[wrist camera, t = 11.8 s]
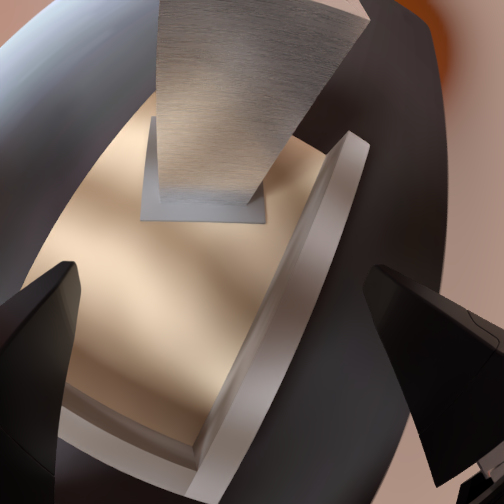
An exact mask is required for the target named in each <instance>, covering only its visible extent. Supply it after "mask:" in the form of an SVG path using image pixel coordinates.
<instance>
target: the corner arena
mask: <svg viewBox="0 0 504 504" xmlns="http://www.w3.org/2000/svg"><path fill="white" fill-rule="evenodd" d="M369 147H370V144H368V143H367V142H365V141H364V140H362V139H361V138H360V137H358V136H357V135H355V134H353V133H352V132H350V131H348V132H347V133H346V134H345V135H344V136H343V137H342V138H341V140H340V141H339V142H338V143H337V144H336V145H335V146H334V147H333V148H332V149H331V150H330V151H329V153H328V154H327V155H325V154H323V153H322V152H320V151H318V150H317V149H315V148H313V147H312V146H310V145H308V144H306V143H305V142H303V141H301V140H300V139H298V138H296V137H294V136H293V135H292V136H291V137H290V139H289V140H288V142H287V143H286V145H285V146H284V148H283V149H282V151H281V152H280V154H279V155H278V157H277V159H276V160H275V162H274V163H273V165H272V166H271V168H270V169H269V171H268V172H267V174H266V176H265V177H264V179H263V180H262V182H261V183H260V185H259V186H258V188H257V190H256V191H255V193H254V194H253V196H252V197H251V199H250V201H249V202H248V204H247V205H246V206H245V205H221V204H190V203H160V192H159V176H158V157H157V129H156V91H155V92H154V93H153V94H152V95H151V96H150V97H149V99H148V100H147V101H146V102H145V103H144V104H143V105H142V106H141V107H140V109H139V110H138V111H137V112H136V113H135V114H134V115H133V117H132V118H131V119H130V120H129V121H128V123H127V124H126V125H125V126H124V127H123V129H122V130H121V131H120V132H119V133H118V135H117V136H116V137H115V138H114V140H113V141H112V142H111V143H110V145H109V146H108V147H107V149H106V150H105V151H104V153H103V154H102V155H101V157H100V158H99V159H98V161H97V162H96V163H95V165H94V166H93V167H92V169H91V170H90V172H89V173H88V174H87V176H86V177H85V179H84V180H83V182H82V183H81V184H80V186H79V187H78V189H77V190H76V192H75V193H74V195H73V196H72V198H71V200H70V201H69V203H68V204H67V206H66V207H65V209H64V211H63V212H62V214H61V215H60V217H59V219H58V220H57V222H56V224H55V225H54V227H53V229H52V230H51V232H50V234H49V236H48V237H47V239H46V241H45V243H44V245H43V246H42V248H41V250H40V252H39V254H38V256H37V258H36V260H35V261H34V263H33V265H32V267H31V269H30V271H29V273H28V275H27V277H26V280H25V282H24V284H23V286H22V288H21V290H22V289H23V288H25V287H26V286H27V285H29V284H30V283H31V282H33V281H34V280H36V279H37V278H38V277H40V276H41V275H43V274H44V273H45V272H47V271H48V270H50V269H51V268H53V267H54V266H55V265H57V264H58V263H60V262H61V261H74V262H75V263H76V264H77V268H78V273H79V278H80V283H81V297H80V303H79V310H78V317H77V324H76V332H75V339H74V344H73V348H72V353H71V357H70V362H69V367H68V372H67V377H66V383H65V388H64V394H63V400H62V407H61V414H60V421H59V429H58V437H60V438H61V439H63V440H65V441H66V442H68V443H70V444H71V445H73V446H75V447H76V448H78V449H80V450H82V451H83V452H85V453H87V454H89V455H91V456H92V457H94V458H96V459H98V460H100V461H102V462H104V463H106V464H108V465H110V466H112V467H114V468H116V469H118V470H120V471H122V472H124V473H126V474H129V475H131V476H133V477H135V478H138V479H140V480H142V481H145V482H147V483H150V484H152V485H155V486H157V487H160V488H162V489H165V490H168V491H171V492H173V493H176V494H179V495H182V496H185V497H188V498H191V499H194V500H197V501H201V502H204V503H208V504H218V502H219V501H220V499H221V497H222V495H223V494H224V492H225V490H226V489H227V487H228V485H229V483H230V482H231V480H232V478H233V476H234V474H235V473H236V471H237V469H238V467H239V465H240V463H241V462H242V460H243V458H244V456H245V454H246V452H247V450H248V449H249V447H250V445H251V443H252V441H253V439H254V437H255V435H256V433H257V431H258V429H259V427H260V425H261V423H262V421H263V419H264V417H265V415H266V413H267V411H268V409H269V407H270V405H271V403H272V401H273V399H274V397H275V395H276V393H277V390H278V388H279V386H280V384H281V382H282V380H283V378H284V375H285V373H286V371H287V369H288V367H289V364H290V362H291V360H292V358H293V355H294V353H295V351H296V349H297V346H298V344H299V342H300V339H301V337H302V335H303V332H304V330H305V328H306V325H307V323H308V321H309V318H310V316H311V313H312V311H313V308H314V306H315V303H316V301H317V298H318V296H319V293H320V291H321V288H322V286H323V283H324V281H325V278H326V275H327V273H328V270H329V267H330V265H331V262H332V259H333V257H334V254H335V251H336V249H337V246H338V243H339V240H340V237H341V235H342V232H343V229H344V226H345V223H346V220H347V217H348V214H349V211H350V208H351V205H352V202H353V199H354V196H355V193H356V190H357V187H358V184H359V181H360V177H361V174H362V171H363V168H364V164H365V161H366V158H367V154H368V151H369ZM21 290H20V291H21Z"/></svg>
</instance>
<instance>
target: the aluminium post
mask: <svg viewBox="0 0 504 504" xmlns="http://www.w3.org/2000/svg"><path fill="white" fill-rule="evenodd" d="M369 22H370V19H369V17H368V15H367V14H366V12H365V10H364V9H363V7H362V5H361V4H360V2H359V0H160V4H159V18H158V35H157V61H156V129H157V157H158V176H159V192H160V203H190V204H221V205H245V206H246V205H247V204H248V202H249V201H250V199H251V197H252V196H253V194H254V193H255V191H256V190H257V188H258V186H259V185H260V183H261V182H262V180H263V179H264V177H265V176H266V174H267V172H268V171H269V169H270V168H271V166H272V165H273V163H274V162H275V160H276V159H277V157H278V155H279V154H280V152H281V151H282V149H283V148H284V146H285V145H286V143H287V142H288V140H289V139H290V137H291V136H292V134H293V133H294V131H295V130H296V128H297V127H298V125H299V124H300V122H301V121H302V119H303V118H304V116H305V115H306V113H307V112H308V110H309V109H310V107H311V106H312V104H313V103H314V101H315V100H316V98H317V97H318V95H319V94H320V92H321V91H322V89H323V88H324V86H325V85H326V84H327V82H328V81H329V79H330V78H331V76H332V75H333V73H334V72H335V70H336V69H337V68H338V66H339V65H340V63H341V62H342V60H343V59H344V57H345V56H346V55H347V53H348V52H349V50H350V49H351V47H352V46H353V45H354V43H355V42H356V40H357V39H358V38H359V36H360V35H361V33H362V32H363V30H364V29H365V28H366V26H367V25H368V24H369Z"/></svg>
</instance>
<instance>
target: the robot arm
mask: <svg viewBox="0 0 504 504" xmlns="http://www.w3.org/2000/svg"><path fill="white" fill-rule="evenodd" d="M363 292H364V295H365V298H366V301H367V303H368V306H369V309H370V312H371V315H372V318H373V321H374V324H375V327H376V329H377V332H378V334H379V336H380V339H381V341H382V343H383V346H384V348H385V350H386V352H387V355H388V357H389V360H390V362H391V364H392V367H393V369H394V371H395V374H396V376H397V379H398V381H399V384H400V386H401V389H402V391H403V394H404V396H405V399H406V402H407V404H408V407H409V409H410V412H411V415H412V417H413V420H414V423H415V426H416V429H417V431H418V434H419V438H420V440H421V443H422V446H423V449H424V452H425V455H426V458H427V461H428V464H429V467H430V470H431V474H432V477H433V480H434V483H435V486H436V488H438V487H439V486H441V485H443V484H444V483H446V482H447V481H449V480H451V479H452V478H454V477H455V476H457V475H458V474H460V473H461V472H463V471H464V470H466V469H467V468H468V467H470V466H471V465H473V464H474V463H476V462H477V464H478V466H479V468H480V471H479V472H477V473H476V474H475V475H473V476H472V477H470V478H469V479H468V480H466V481H465V482H463V483H462V484H461V486H460V490H459V494H458V498H457V502H456V504H504V330H503V329H502V328H500V327H498V326H496V325H494V324H492V323H490V322H489V321H487V320H485V319H483V318H481V317H479V316H478V315H476V314H474V313H472V312H471V311H469V310H466V309H465V308H463V307H461V306H460V305H458V304H456V303H454V302H453V301H451V300H449V299H447V298H445V297H444V296H442V295H440V294H438V293H436V292H434V291H433V290H431V289H429V288H427V287H425V286H423V285H421V284H420V283H418V282H416V281H414V280H412V279H410V278H408V277H406V276H404V275H402V274H401V273H399V272H397V271H395V270H393V269H391V268H389V267H387V266H385V265H372V266H371V267H370V270H369V272H368V275H367V277H366V280H365V282H364V285H363ZM80 297H81V283H80V278H79V273H78V268H77V264H76V263H75V262H74V261H61V262H60V263H58V264H57V265H55V266H54V267H53V268H51V269H50V270H48V271H47V272H45V273H44V274H43V275H41V276H40V277H38V278H37V279H36V280H34V281H33V282H31V283H30V284H29V285H27V286H26V287H25V288H23V289H22V290H21V291H19V292H18V293H17V294H15V295H14V296H13V297H11V298H10V299H9V300H7V301H6V302H5V303H4V304H2V305H1V306H0V504H54V484H55V477H54V475H55V461H56V449H57V438H58V429H59V421H60V414H61V407H62V400H63V394H64V388H65V383H66V377H67V372H68V367H69V362H70V357H71V353H72V348H73V344H74V339H75V332H76V324H77V317H78V310H79V303H80Z"/></svg>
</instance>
